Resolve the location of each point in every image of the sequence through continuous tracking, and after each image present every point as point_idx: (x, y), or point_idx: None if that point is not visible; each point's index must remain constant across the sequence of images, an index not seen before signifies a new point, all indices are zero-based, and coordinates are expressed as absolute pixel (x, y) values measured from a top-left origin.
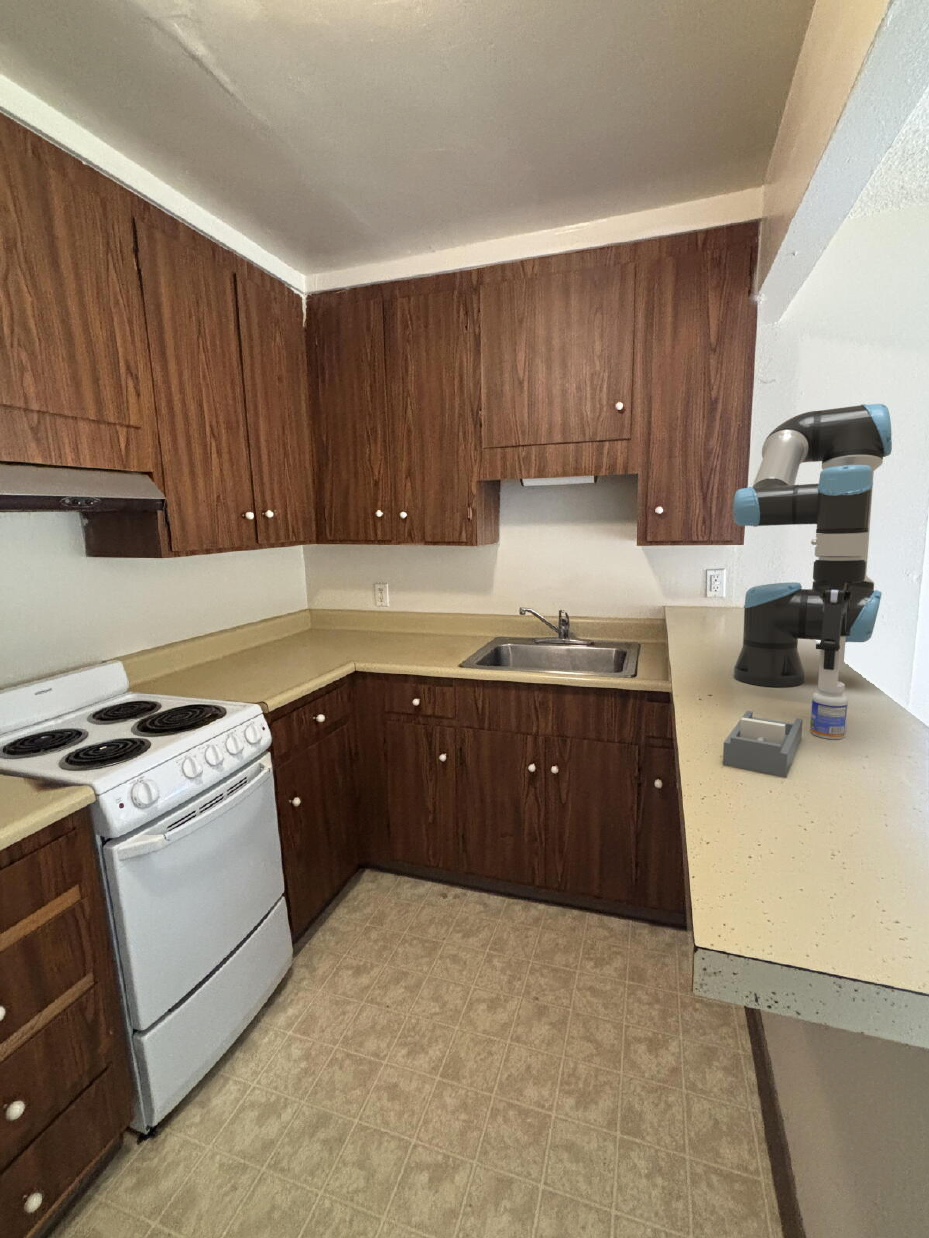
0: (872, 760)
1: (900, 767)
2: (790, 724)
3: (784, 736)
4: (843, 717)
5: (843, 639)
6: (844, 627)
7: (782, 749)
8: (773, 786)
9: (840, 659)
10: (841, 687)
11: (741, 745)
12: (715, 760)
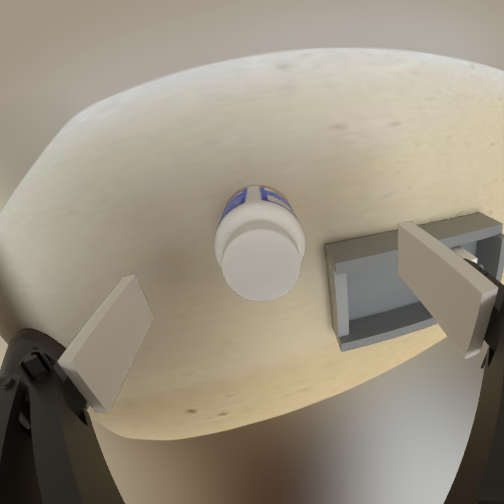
0: (351, 115)
1: (352, 72)
2: (345, 274)
3: (457, 251)
4: (272, 196)
5: (81, 360)
6: (59, 408)
7: (492, 234)
8: (500, 216)
9: (121, 307)
10: (278, 231)
11: None
12: None
